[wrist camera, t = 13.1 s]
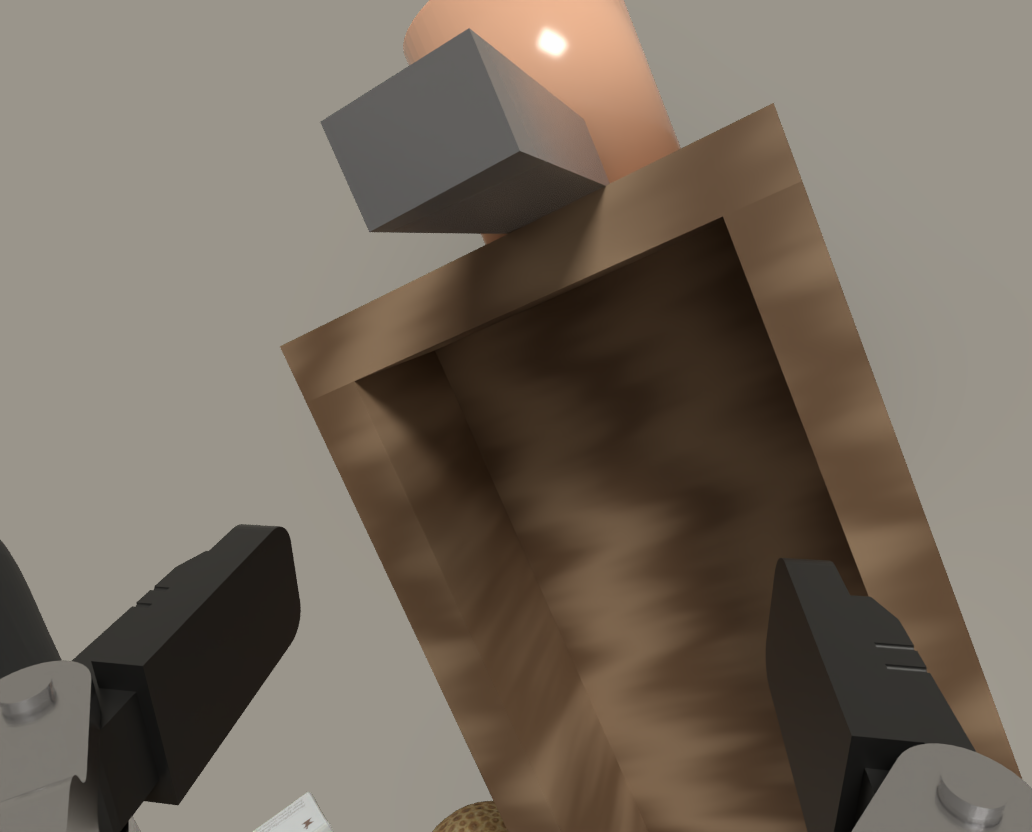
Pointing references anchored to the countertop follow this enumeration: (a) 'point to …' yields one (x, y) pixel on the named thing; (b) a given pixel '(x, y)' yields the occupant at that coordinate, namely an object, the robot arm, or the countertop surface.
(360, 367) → the stand
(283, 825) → the skincare box
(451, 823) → the natural sponge
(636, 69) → the peach cylinder
